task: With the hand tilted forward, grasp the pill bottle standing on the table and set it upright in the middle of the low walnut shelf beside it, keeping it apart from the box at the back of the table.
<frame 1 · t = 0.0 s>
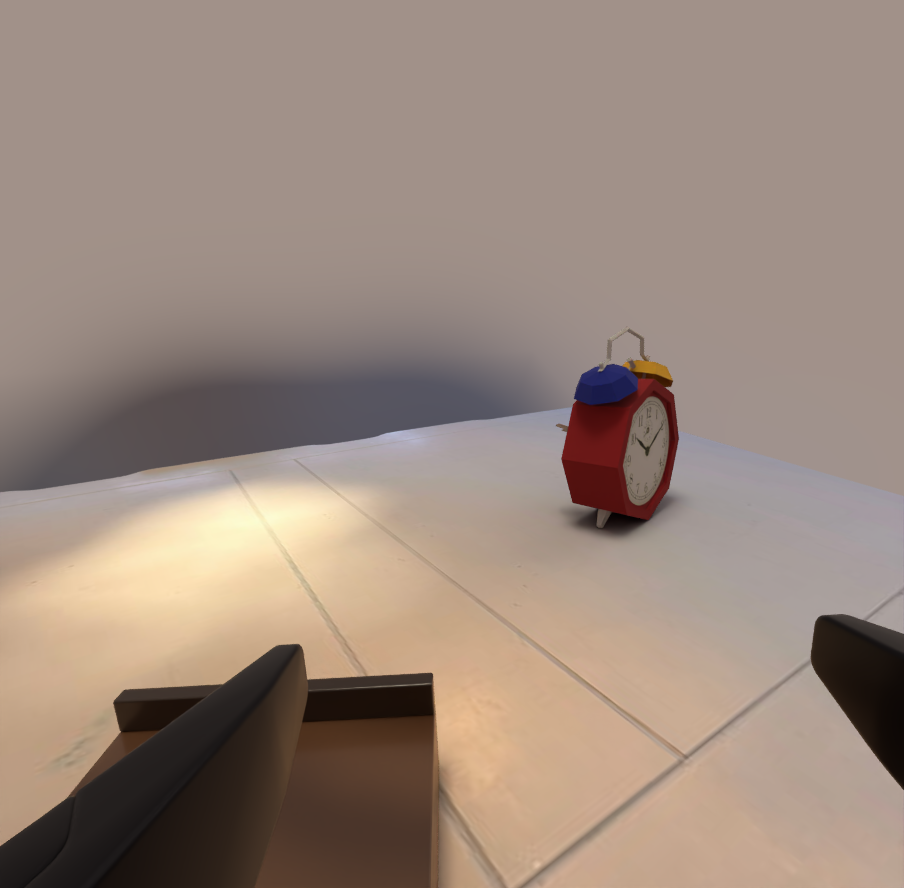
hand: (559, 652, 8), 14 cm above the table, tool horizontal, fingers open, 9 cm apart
alarm clock: (611, 513, 53), on the table
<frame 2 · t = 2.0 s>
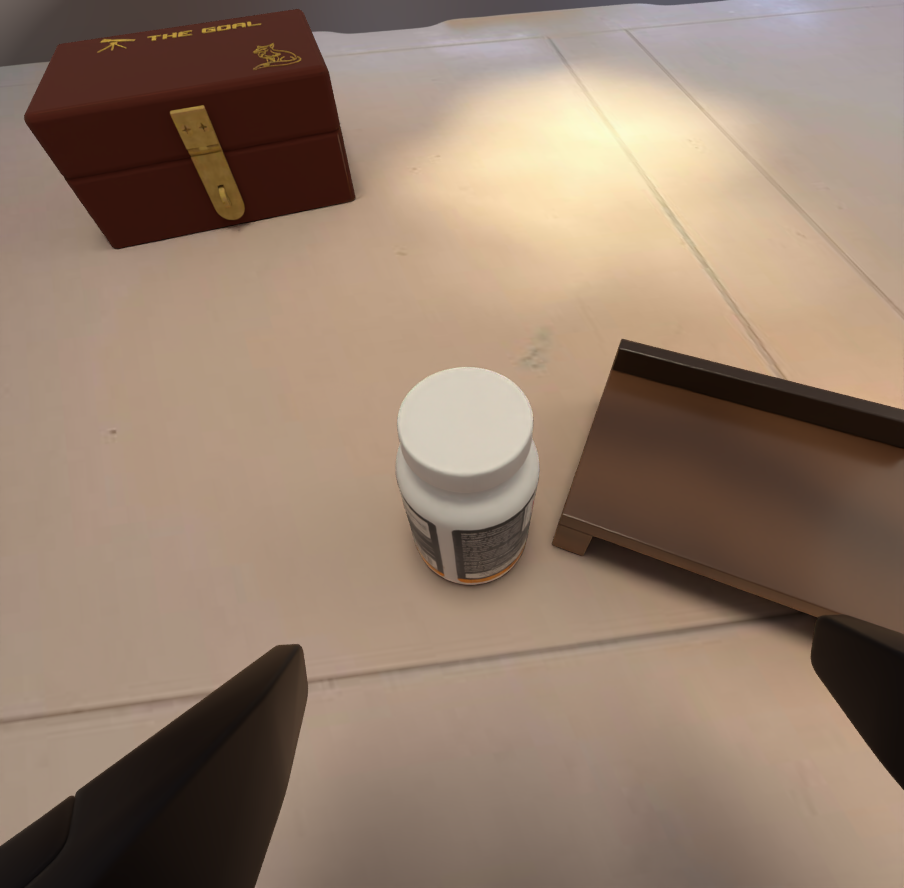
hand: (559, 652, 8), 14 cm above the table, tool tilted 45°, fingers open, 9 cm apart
pill bottle: (469, 534, 25), on the table
shelf: (711, 509, 25), on the table
box: (235, 187, 45), on the table
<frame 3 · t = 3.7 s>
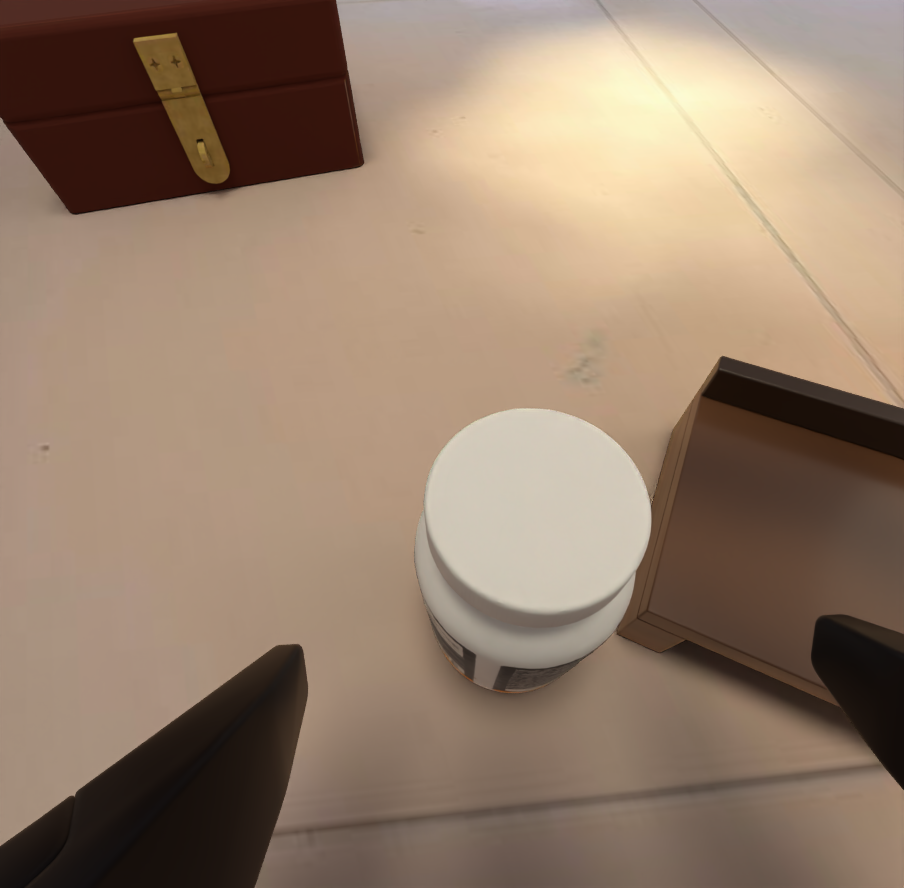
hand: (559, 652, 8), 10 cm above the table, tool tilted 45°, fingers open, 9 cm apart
pill bottle: (504, 613, 18), on the table
shelf: (831, 591, 18), on the table
box: (222, 146, 38), on the table
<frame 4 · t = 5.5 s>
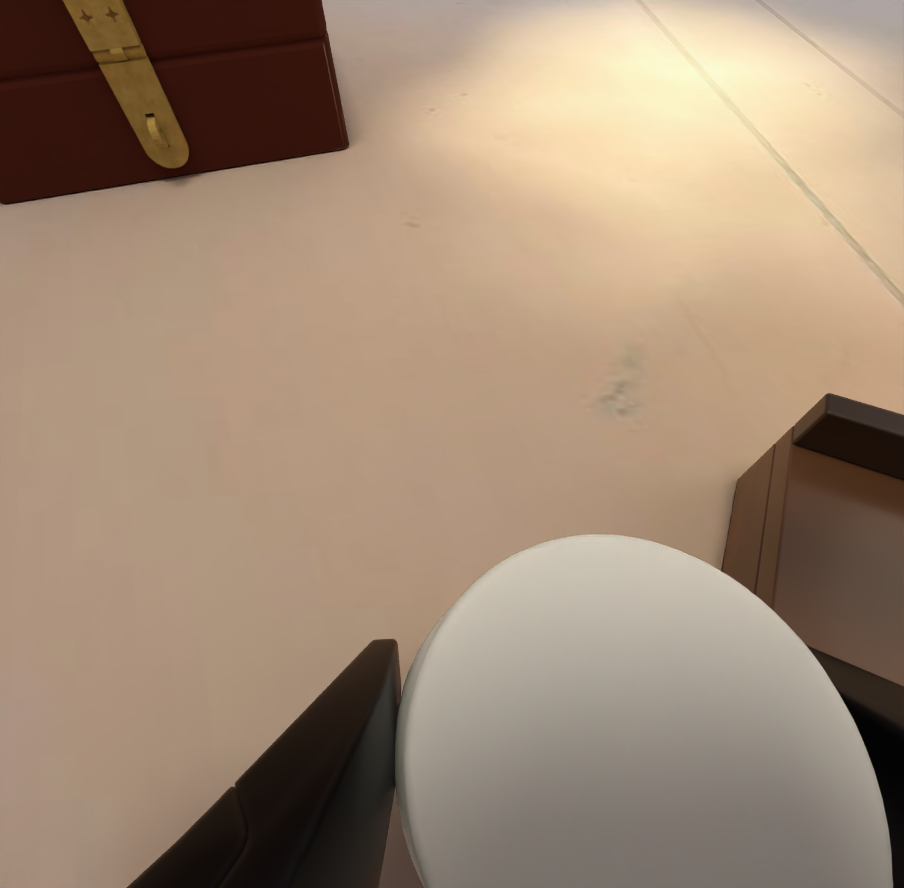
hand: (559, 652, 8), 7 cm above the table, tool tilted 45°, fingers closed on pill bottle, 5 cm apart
pill bottle: (526, 746, 13), on the table, touching gripper
box: (185, 127, 33), on the table
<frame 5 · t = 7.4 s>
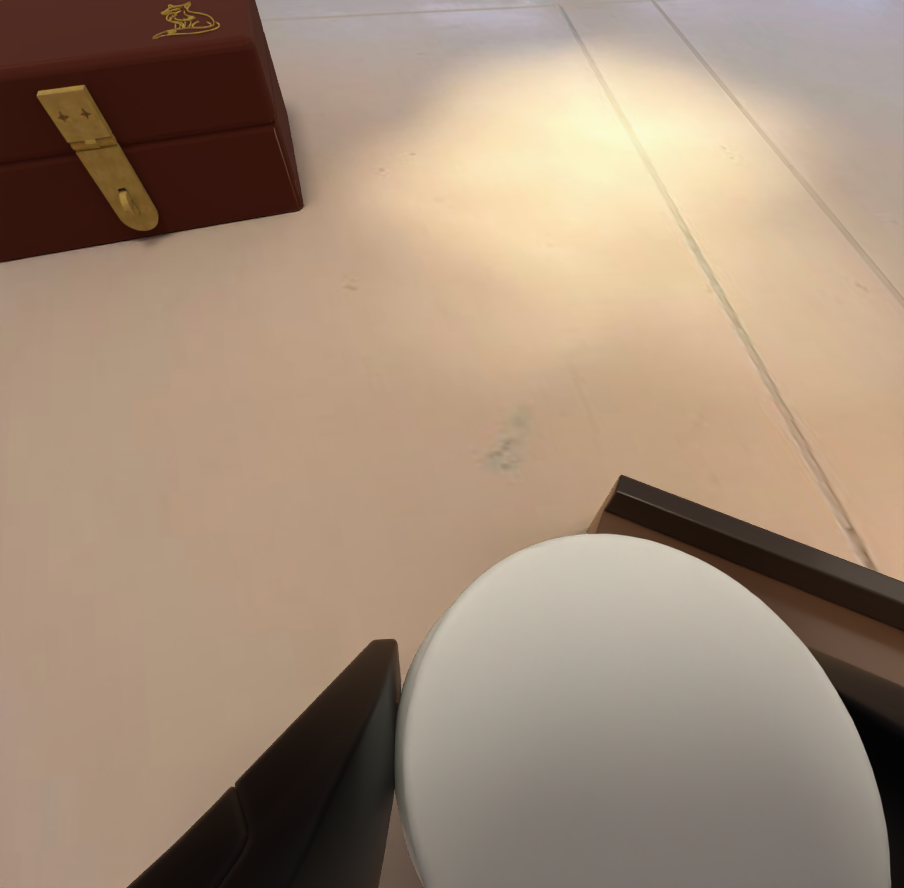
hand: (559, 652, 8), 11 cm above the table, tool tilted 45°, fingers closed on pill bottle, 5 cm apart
pill bottle: (526, 746, 13), point 4 cm above the table, touching gripper
shelf: (734, 722, 17), on the table
box: (159, 184, 37), on the table
when the fingers open (10 cm above the table, at t = 9.5 s): pill bottle stays where it is, resting on shelf.
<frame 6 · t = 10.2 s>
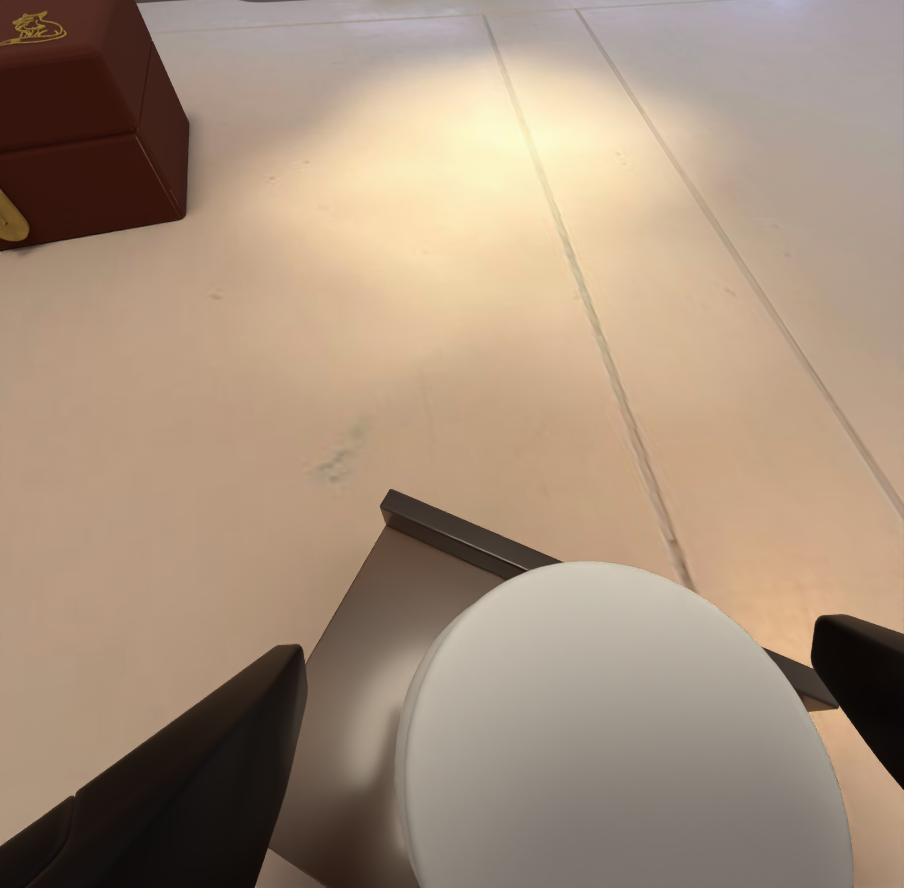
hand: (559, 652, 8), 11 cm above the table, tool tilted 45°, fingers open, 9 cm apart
pill bottle: (523, 753, 14), point 3 cm above the table, touching shelf
shelf: (515, 746, 17), on the table
box: (47, 194, 36), on the table
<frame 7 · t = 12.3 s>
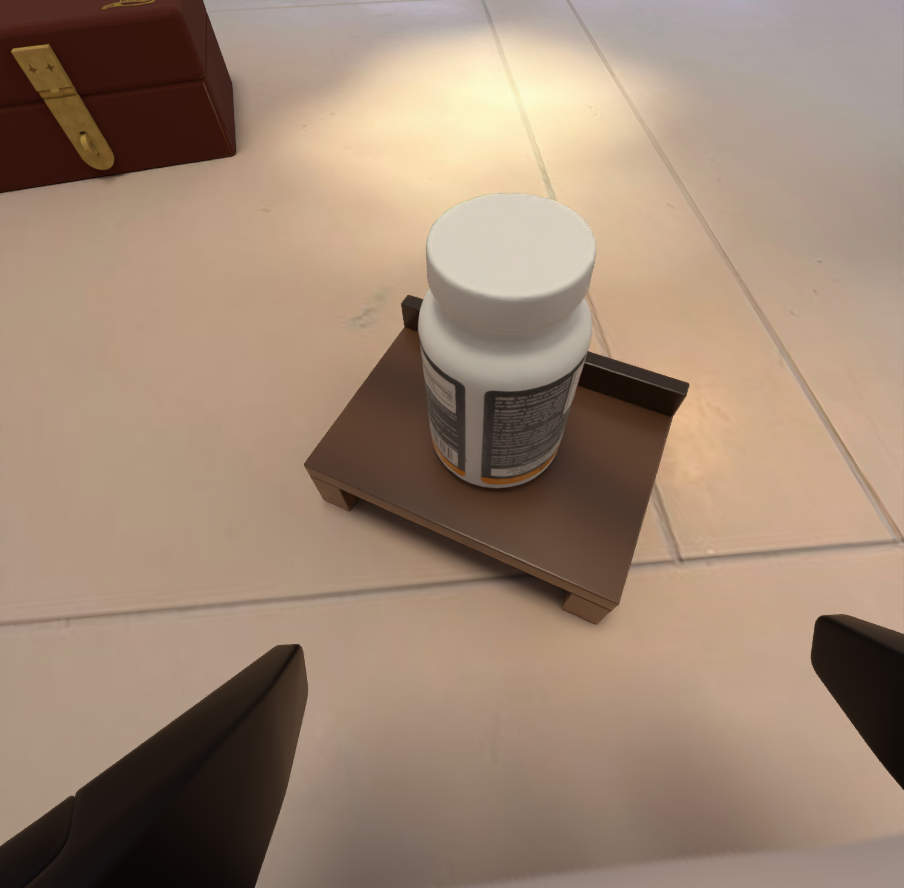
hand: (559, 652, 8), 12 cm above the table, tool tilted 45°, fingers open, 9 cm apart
pill bottle: (493, 439, 22), point 3 cm above the table, touching shelf
shelf: (491, 471, 24), on the table
box: (120, 138, 44), on the table
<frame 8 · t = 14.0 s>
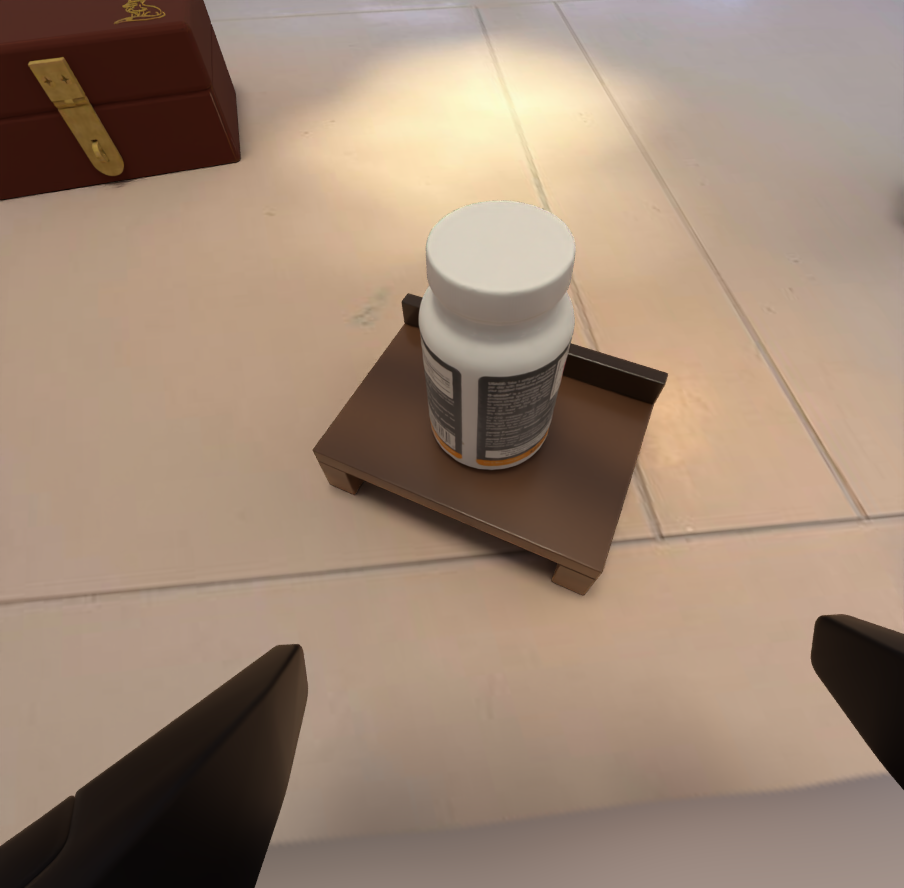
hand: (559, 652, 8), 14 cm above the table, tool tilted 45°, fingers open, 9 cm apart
pill bottle: (488, 426, 23), point 3 cm above the table, touching shelf
shelf: (486, 457, 26), on the table
box: (128, 145, 46), on the table
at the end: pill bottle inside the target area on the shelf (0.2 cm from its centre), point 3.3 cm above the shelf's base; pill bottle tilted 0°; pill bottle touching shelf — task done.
